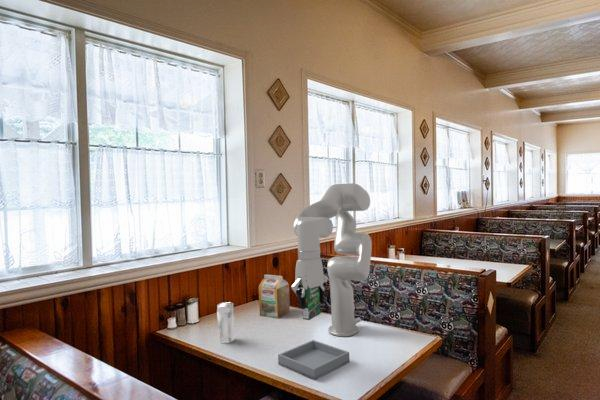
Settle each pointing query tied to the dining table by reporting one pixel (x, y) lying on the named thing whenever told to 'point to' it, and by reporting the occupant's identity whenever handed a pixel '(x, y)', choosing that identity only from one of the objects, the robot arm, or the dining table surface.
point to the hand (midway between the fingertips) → (311, 304)
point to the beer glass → (226, 321)
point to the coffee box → (311, 303)
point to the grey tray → (313, 359)
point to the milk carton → (274, 297)
